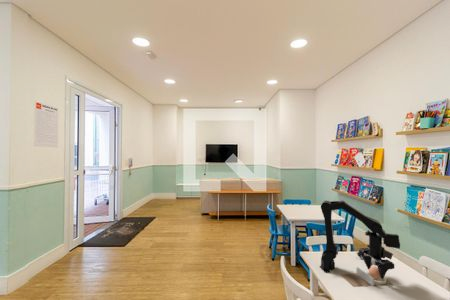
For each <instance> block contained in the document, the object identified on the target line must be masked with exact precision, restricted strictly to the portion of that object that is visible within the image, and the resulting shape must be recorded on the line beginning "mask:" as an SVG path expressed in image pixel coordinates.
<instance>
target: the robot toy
mask: <svg viewBox="0 0 450 300" xmlns="http://www.w3.org/2000/svg"><path fill="white" fill-rule="evenodd" d="M354 252H355V253H356V256H358V257H359V259H361V260H363V258H362V256H361V255H360V253H359V250H358V251H356V250H354ZM371 265H374V266H379V265H378V261H377V260H375V259H373V258H372V259H371Z"/></svg>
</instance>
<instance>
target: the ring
mask: <svg viewBox="0 0 450 300" xmlns="http://www.w3.org/2000/svg"><path fill="white" fill-rule="evenodd" d="M366 273H367V274H368V275H370V274H369V271H368V272H366ZM386 280H387V277H385V276H384V278H383V279H381V278H380V279H374V283H377V284H386Z"/></svg>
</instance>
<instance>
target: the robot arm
mask: <svg viewBox="0 0 450 300" xmlns="http://www.w3.org/2000/svg"><path fill="white" fill-rule="evenodd" d="M320 209H321V213H322V215H323V219H324V229H325V237H326V243H325V250H323V251H322V255H321V257H320V265H319V268H320V269H321V270H322V271H323V272H324V273H331V271H333V270H335V267H336V264H335V263H336V262H335V259H336V258H337V255H339V249H338V243H336V242H335V238H334V230H333V223H332V222H333V221H332V215H333V211H336V210H337V211H338V210H344V211H345V212H346V213H348V214H350V215H351V216H352V217H354V218H355V219H357V220H358V221H360V222H362V224H363V225H365V226H366V228H367V229H368V230H367V231H365V232H364V234H365V236H368V244H367V245H366V247H361V248H359V249H358V251H359V253H360V255H361V256H362V258H363V259H362V260H363V262H364V264H365V266H366V268H367V270H369V269H370V268H371V267H372V264H371V259H372V258H373V259H375V260H377V261H378V265H377V268H378V270H379V274H380V277H381V279H383V278H384V277H385V276H386V274H387V272H388V271H389V270H394V269H395V263H393V261H391V260H392V258H393V255H394V253H392V252H391V251H388V250H386V249H385V247H387V248H392V249H400V248H401V243H400V236H399V235H398V234H397V233H394V234H393V233H387V232H386V230H384V229H383V225H382V223H381V222H380V221H379V220H378V219H375V218H373V217H371V216H367V215H365V214H364V213H363V212H361V211H360V210H358V209H357V208H355V207H353V206H352V205H350V204H349V203H347V202H346V201H344V200H337V201H335V200H333V201H329V200H324V201H322V202H321V205H320ZM383 245H385V247H384V246H383Z"/></svg>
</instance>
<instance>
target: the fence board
mask: <svg viewBox="0 0 450 300" xmlns="http://www.w3.org/2000/svg"><path fill="white" fill-rule="evenodd" d="M367 273H368V272H366V271H364V270H363V269H362V268H360V267H358V266H356V271H355V273H339V275H340V276H341V277H342V278H343V279H344V280H345V281H347V283H348V284H349V285H351V287H354V288H358V287H377V286H378V287H379V286H382V287H383V286H394V285H395V284H394V283H393V282H391V281H389V279H386V284H377V283H374V278H372V277H371V276H370V275H368V274H367Z"/></svg>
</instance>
